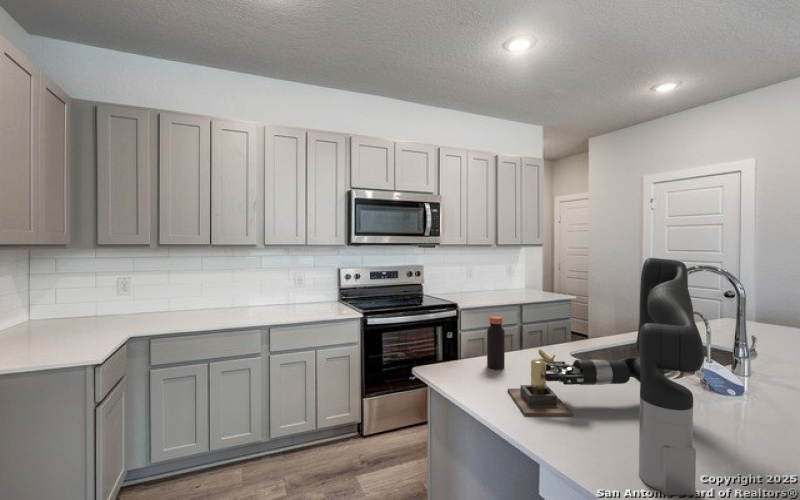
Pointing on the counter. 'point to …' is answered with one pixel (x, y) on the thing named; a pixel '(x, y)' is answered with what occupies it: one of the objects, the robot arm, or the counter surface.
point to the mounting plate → (539, 402)
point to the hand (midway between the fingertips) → (540, 372)
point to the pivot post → (538, 377)
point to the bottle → (495, 344)
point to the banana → (545, 356)
